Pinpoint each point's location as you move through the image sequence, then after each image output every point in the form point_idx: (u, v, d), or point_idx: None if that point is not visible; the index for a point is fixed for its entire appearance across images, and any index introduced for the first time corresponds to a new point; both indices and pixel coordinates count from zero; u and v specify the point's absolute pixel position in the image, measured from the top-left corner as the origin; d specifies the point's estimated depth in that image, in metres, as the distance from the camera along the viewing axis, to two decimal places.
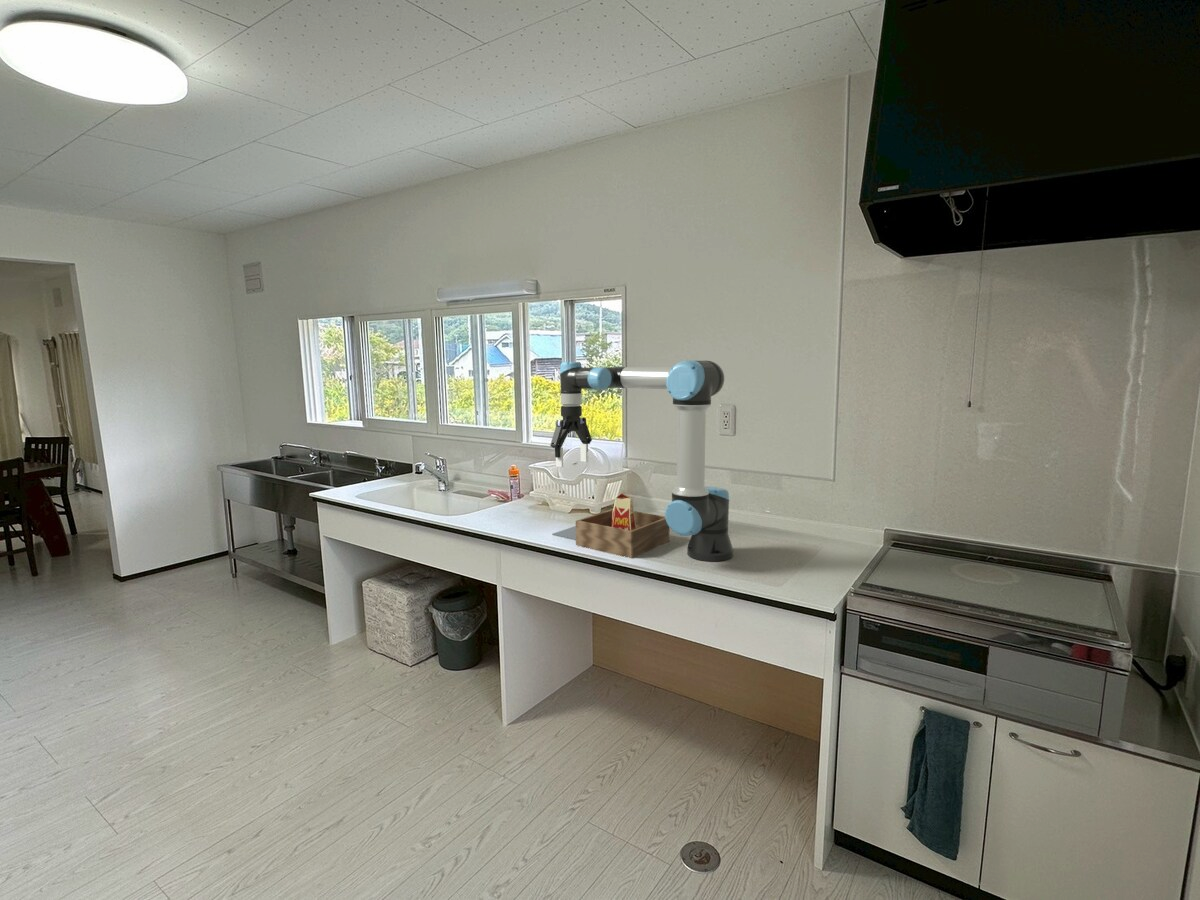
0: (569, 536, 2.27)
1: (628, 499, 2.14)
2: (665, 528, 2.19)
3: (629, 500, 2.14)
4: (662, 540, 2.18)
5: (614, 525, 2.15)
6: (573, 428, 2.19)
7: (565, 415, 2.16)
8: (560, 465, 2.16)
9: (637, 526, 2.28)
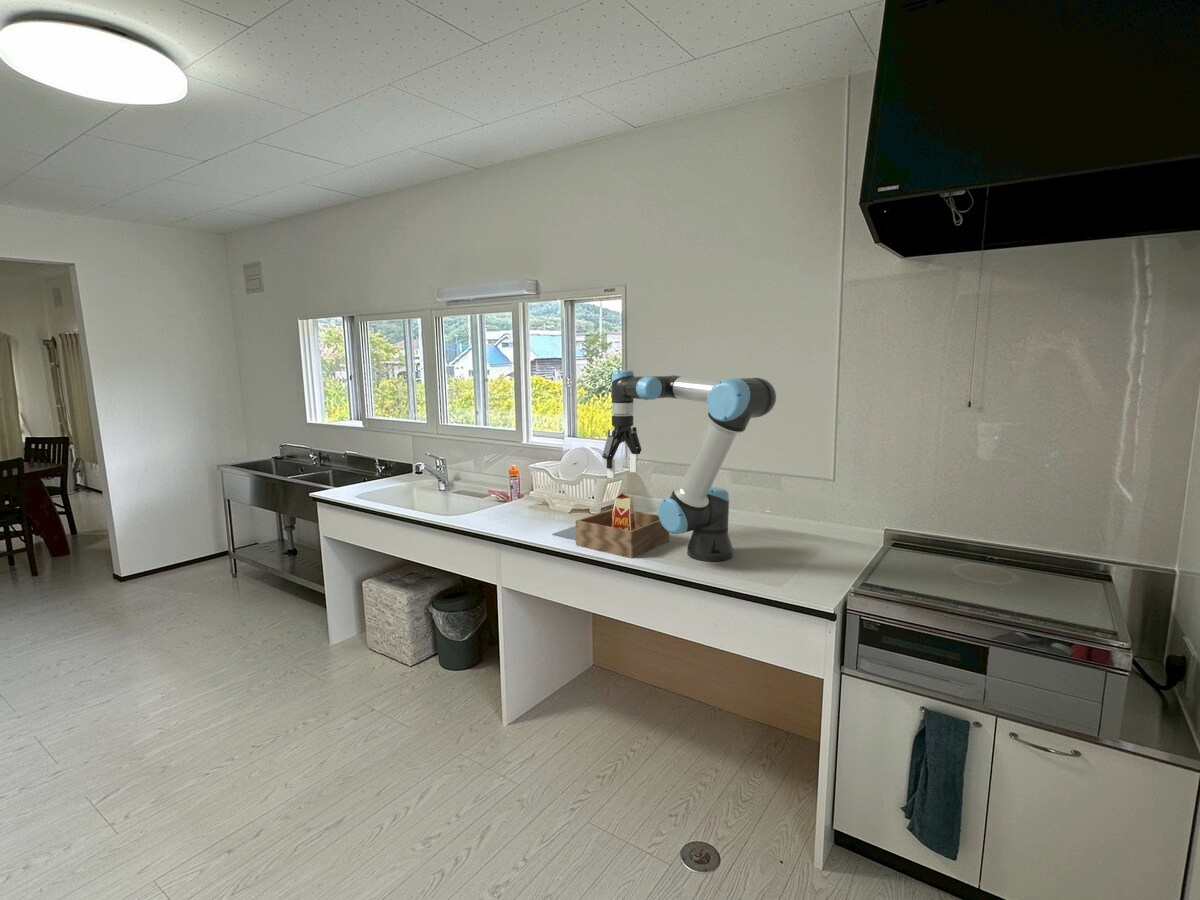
0: (569, 536, 2.27)
1: (628, 499, 2.14)
2: None
3: (629, 500, 2.14)
4: (662, 540, 2.18)
5: (614, 525, 2.15)
6: (624, 438, 2.13)
7: (617, 425, 2.10)
8: (612, 476, 2.10)
9: (637, 526, 2.28)
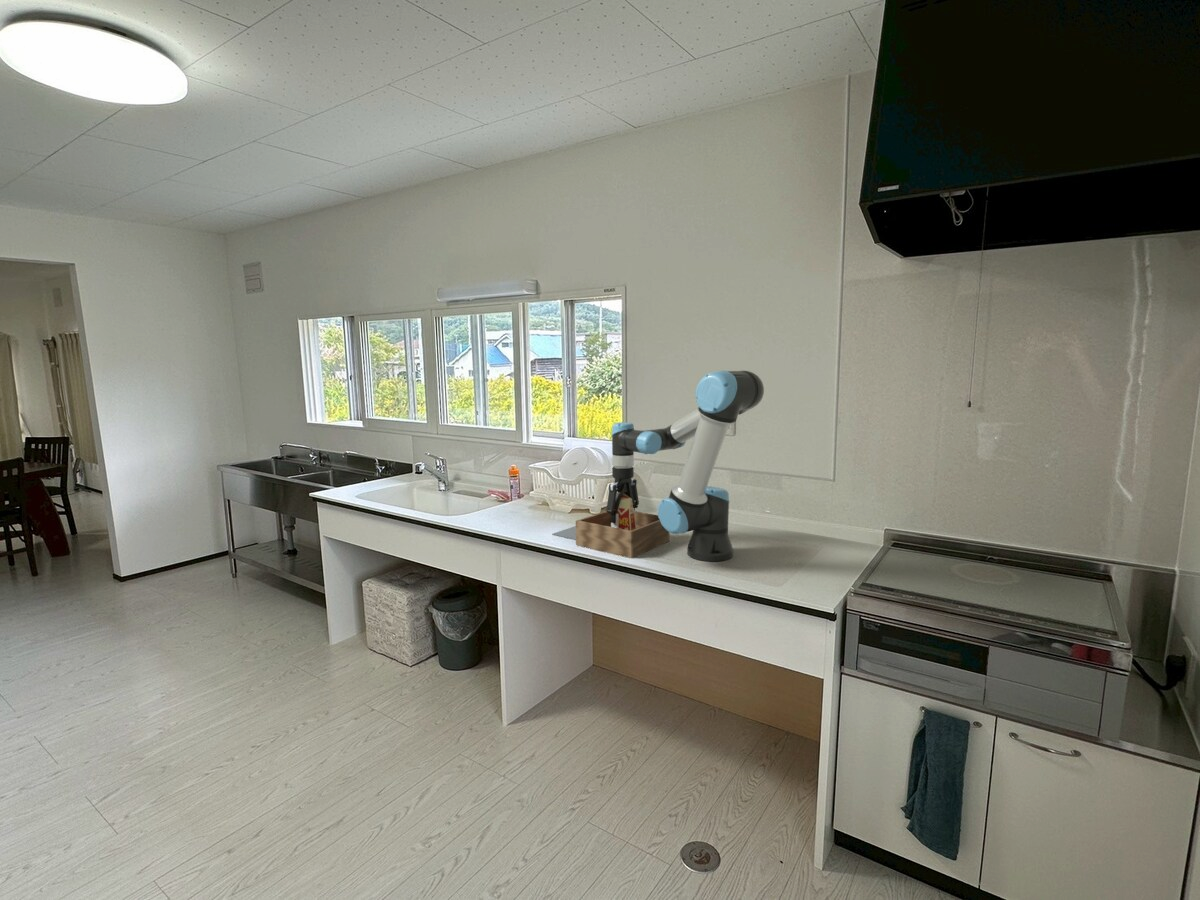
0: (569, 536, 2.27)
1: (628, 499, 2.14)
2: None
3: (629, 500, 2.14)
4: (662, 540, 2.18)
5: None
6: (625, 489, 2.16)
7: (617, 477, 2.13)
8: None
9: (637, 526, 2.28)
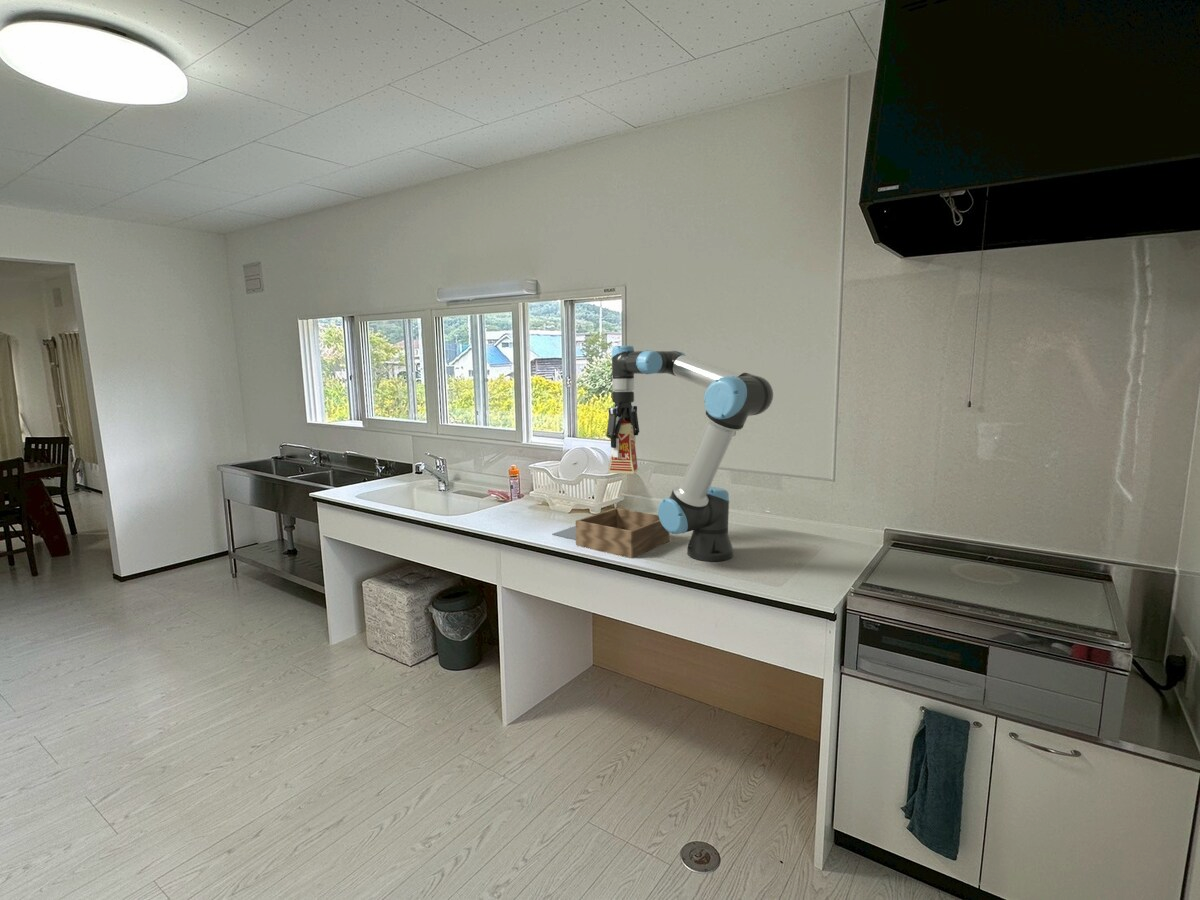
0: (569, 536, 2.27)
1: (628, 424, 2.11)
2: None
3: (629, 425, 2.10)
4: (662, 540, 2.18)
5: None
6: (625, 414, 2.12)
7: (617, 400, 2.09)
8: (616, 455, 2.10)
9: (637, 526, 2.28)
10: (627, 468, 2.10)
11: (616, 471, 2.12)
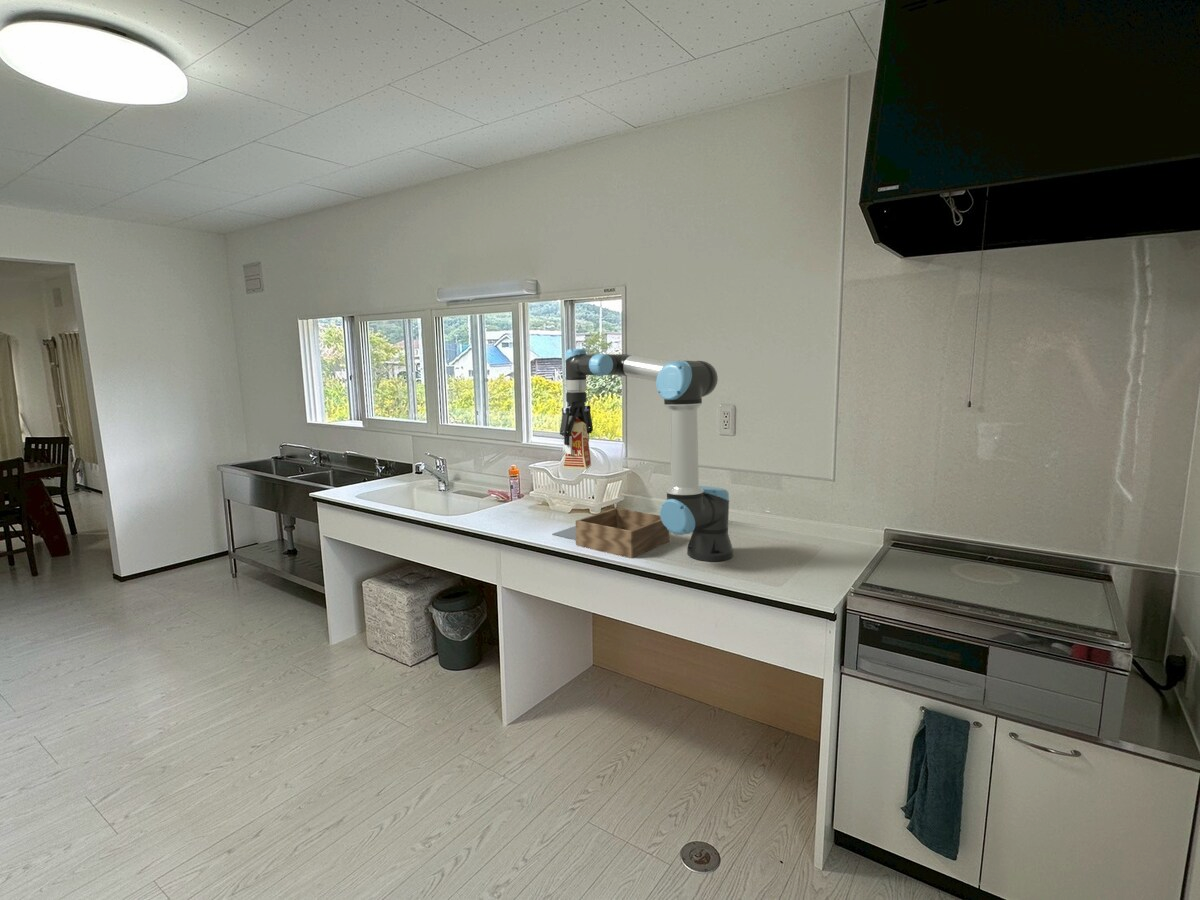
0: (569, 536, 2.27)
1: (581, 423, 2.24)
2: (665, 528, 2.19)
3: (582, 423, 2.23)
4: (662, 540, 2.18)
5: None
6: (578, 414, 2.25)
7: (570, 400, 2.22)
8: (569, 452, 2.23)
9: (637, 526, 2.28)
10: (580, 464, 2.24)
11: (569, 467, 2.25)
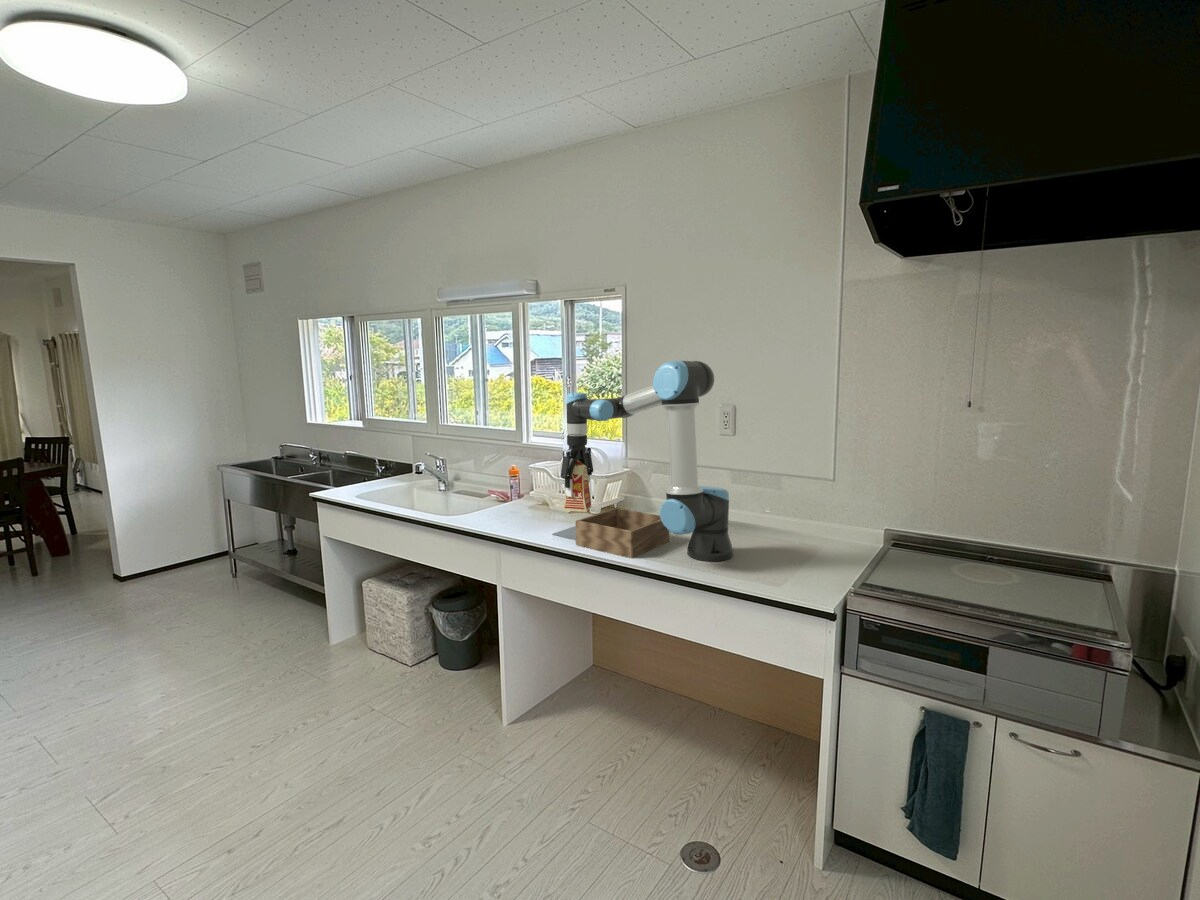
0: (569, 536, 2.27)
1: (581, 465, 2.26)
2: (665, 528, 2.19)
3: (582, 466, 2.26)
4: (662, 540, 2.18)
5: None
6: (579, 456, 2.27)
7: (571, 444, 2.24)
8: (570, 495, 2.26)
9: (637, 526, 2.28)
10: (580, 507, 2.26)
11: (570, 509, 2.27)
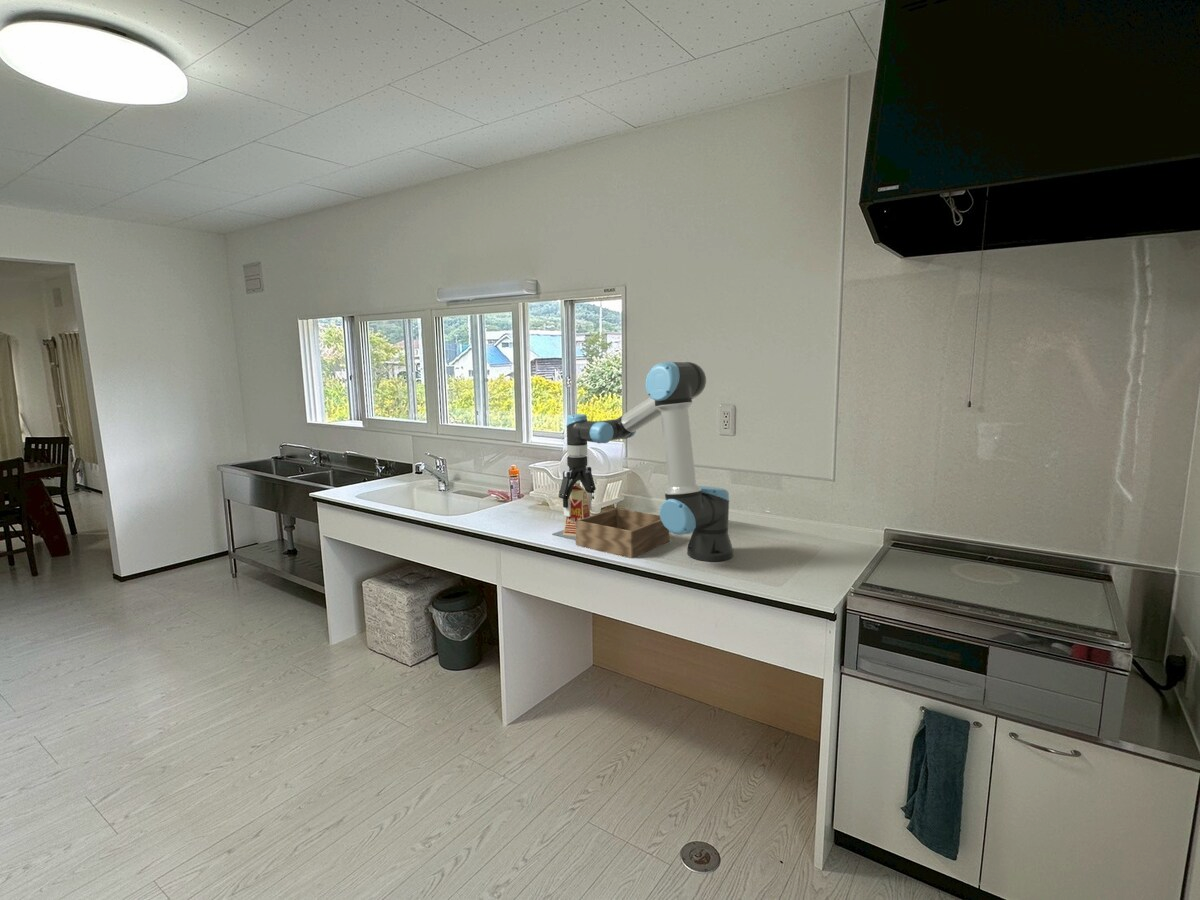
0: (569, 536, 2.27)
1: (581, 491, 2.27)
2: (665, 528, 2.19)
3: (582, 492, 2.27)
4: (662, 540, 2.18)
5: None
6: (579, 477, 2.28)
7: (571, 465, 2.25)
8: (568, 515, 2.26)
9: (637, 526, 2.28)
10: None
11: (570, 534, 2.28)
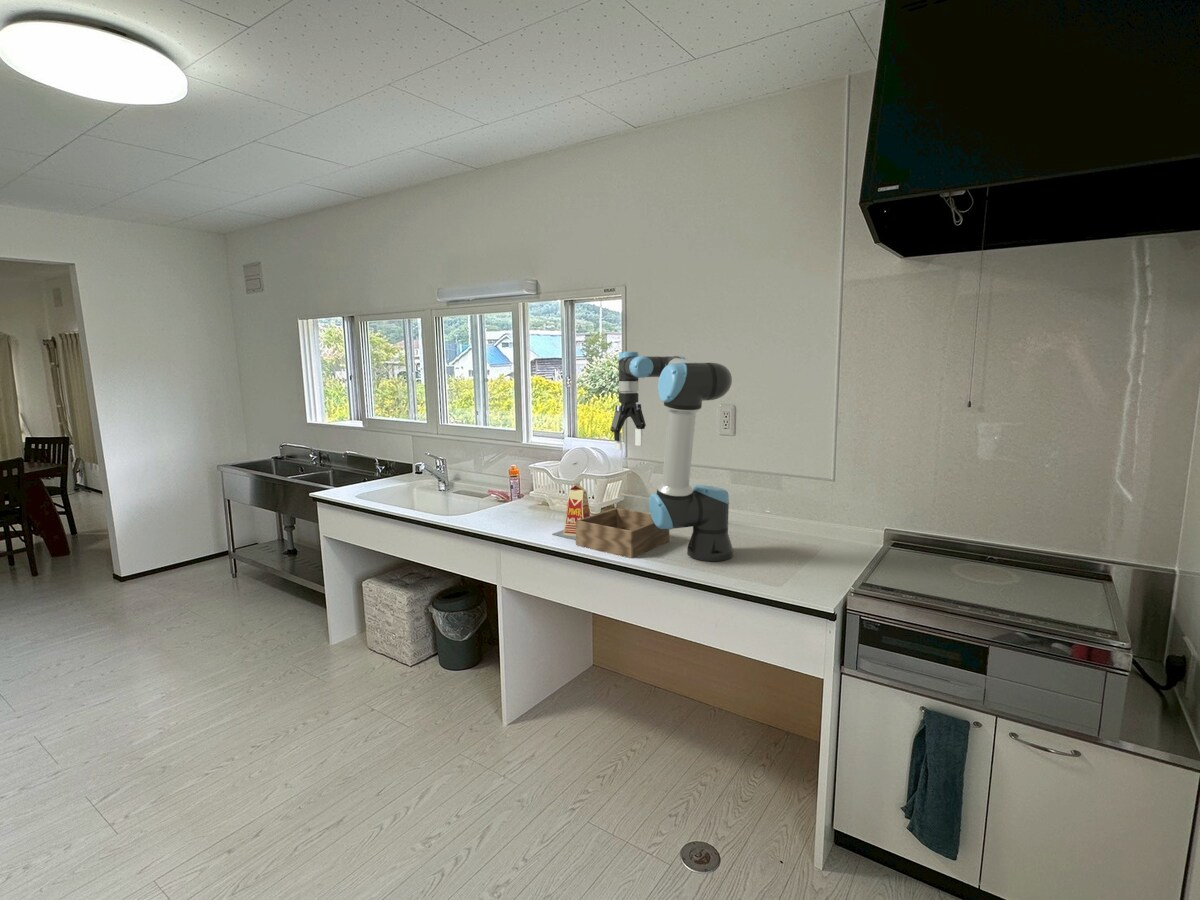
0: (569, 536, 2.27)
1: (581, 491, 2.27)
2: None
3: (582, 492, 2.27)
4: (662, 540, 2.18)
5: (568, 515, 2.27)
6: (630, 414, 2.34)
7: (623, 401, 2.31)
8: (619, 448, 2.30)
9: (637, 526, 2.28)
10: None
11: (570, 534, 2.28)
